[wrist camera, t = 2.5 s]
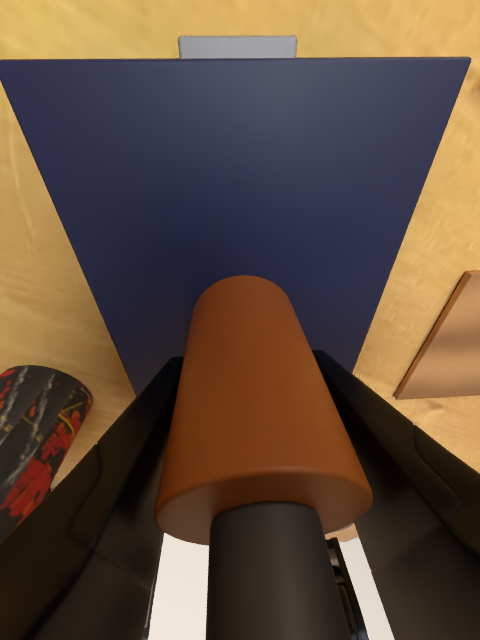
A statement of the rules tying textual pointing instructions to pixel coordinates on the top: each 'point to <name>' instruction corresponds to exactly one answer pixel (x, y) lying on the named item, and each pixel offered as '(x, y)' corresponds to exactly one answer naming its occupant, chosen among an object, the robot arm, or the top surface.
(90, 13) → the top surface
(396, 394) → the coaster
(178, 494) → the bottle
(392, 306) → the top surface
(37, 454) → the deodorant
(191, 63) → the case
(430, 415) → the top surface
